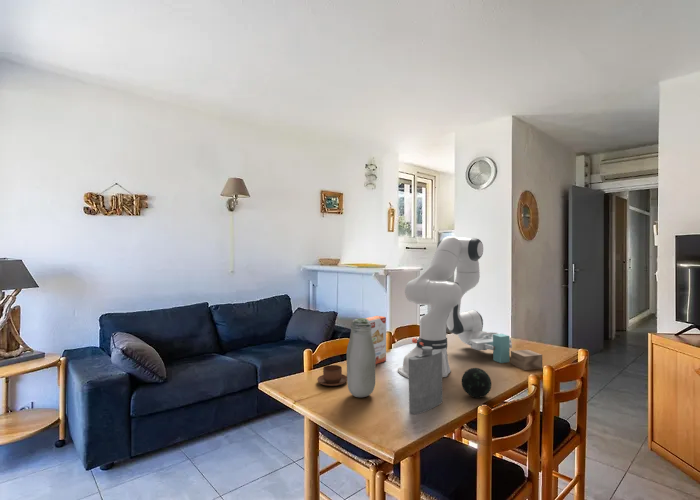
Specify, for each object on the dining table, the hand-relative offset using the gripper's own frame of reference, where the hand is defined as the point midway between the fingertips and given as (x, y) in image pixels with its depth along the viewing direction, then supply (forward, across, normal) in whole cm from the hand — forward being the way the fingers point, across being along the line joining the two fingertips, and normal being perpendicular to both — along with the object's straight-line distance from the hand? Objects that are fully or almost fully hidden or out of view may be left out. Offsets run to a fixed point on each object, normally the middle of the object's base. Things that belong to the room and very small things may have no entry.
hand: (502, 347), depth 178 cm
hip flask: (+31, -58, +7) cm, 66 cm away
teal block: (-1, 0, +7) cm, 7 cm away
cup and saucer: (-3, -81, +7) cm, 81 cm away
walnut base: (+9, +5, +7) cm, 13 cm away
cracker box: (-21, -56, +7) cm, 60 cm away
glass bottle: (+14, -75, +7) cm, 77 cm away
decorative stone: (+30, -37, +7) cm, 48 cm away
